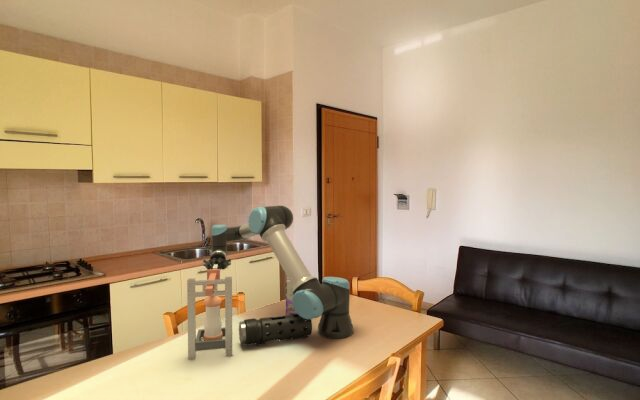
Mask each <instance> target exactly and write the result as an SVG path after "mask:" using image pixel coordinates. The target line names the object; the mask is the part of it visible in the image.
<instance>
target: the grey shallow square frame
mask: <svg viewBox="0 0 640 400" xmlns="http://www.w3.org/2000/svg"><path fill="white" fill-rule="evenodd" d="M221 331H222V337H225V327H221ZM204 333H205V331H204V328H202V329H201V328H200V329H198V331H197V333H196V351H204V350H205V351H206V350H216V349H225V338H222V339H219V340H207V341H204V340H202V338H201V337H203V338H204Z"/></svg>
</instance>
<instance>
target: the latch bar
mask: <svg viewBox="0 0 640 400" xmlns="http://www.w3.org/2000/svg"><path fill="white" fill-rule="evenodd" d="M219 279H221V270H220V269H212V270H211V269H210V270H207V269H206V280H219ZM213 291H214V285H206V288H205V297H209V296H210V295H213Z"/></svg>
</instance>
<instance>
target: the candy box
mask: <svg viewBox="0 0 640 400" xmlns="http://www.w3.org/2000/svg"><path fill="white" fill-rule="evenodd" d="M293 288H294V287H293V285H292V284H291V282H290V280H289V278H288V279H287V280H286V281H285V315H292V314H297V313H296V311H295V309H294V307H293V303H294V302H293V301H292V300H293V296H294V295H293V293H292V292H293Z"/></svg>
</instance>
